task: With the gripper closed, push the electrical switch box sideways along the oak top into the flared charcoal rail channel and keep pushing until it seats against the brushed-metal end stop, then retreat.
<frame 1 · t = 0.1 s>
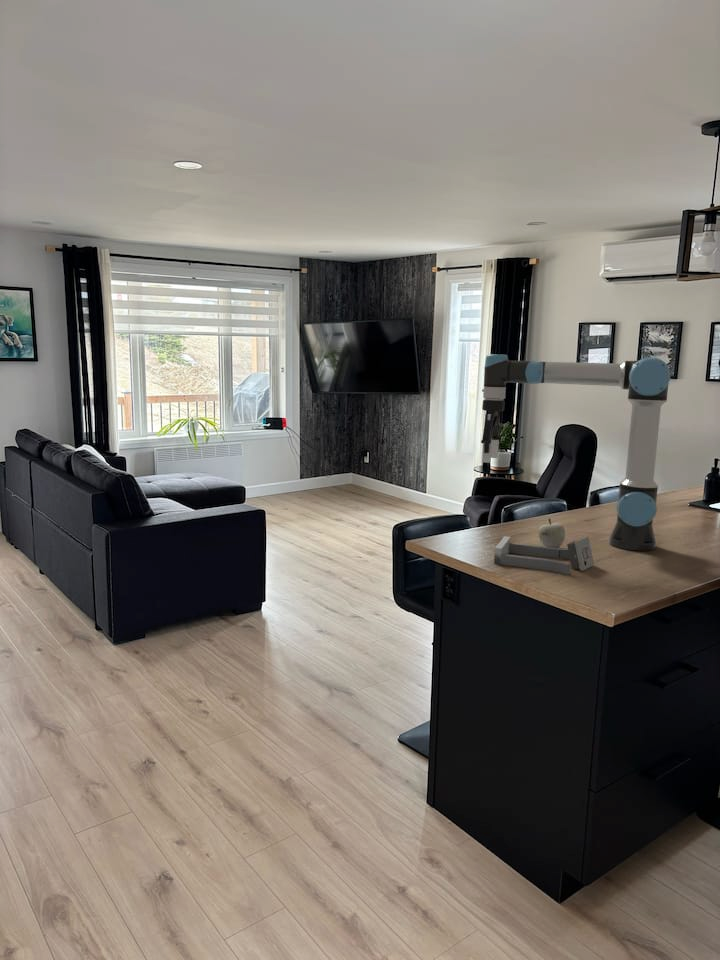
hand: (490, 460, 248), 28 cm above the table, fingers open, 13 cm apart
electrical switch: (579, 567, 219), on the table
decorative object: (550, 548, 241), on the table
rail channel: (527, 560, 224), on the table
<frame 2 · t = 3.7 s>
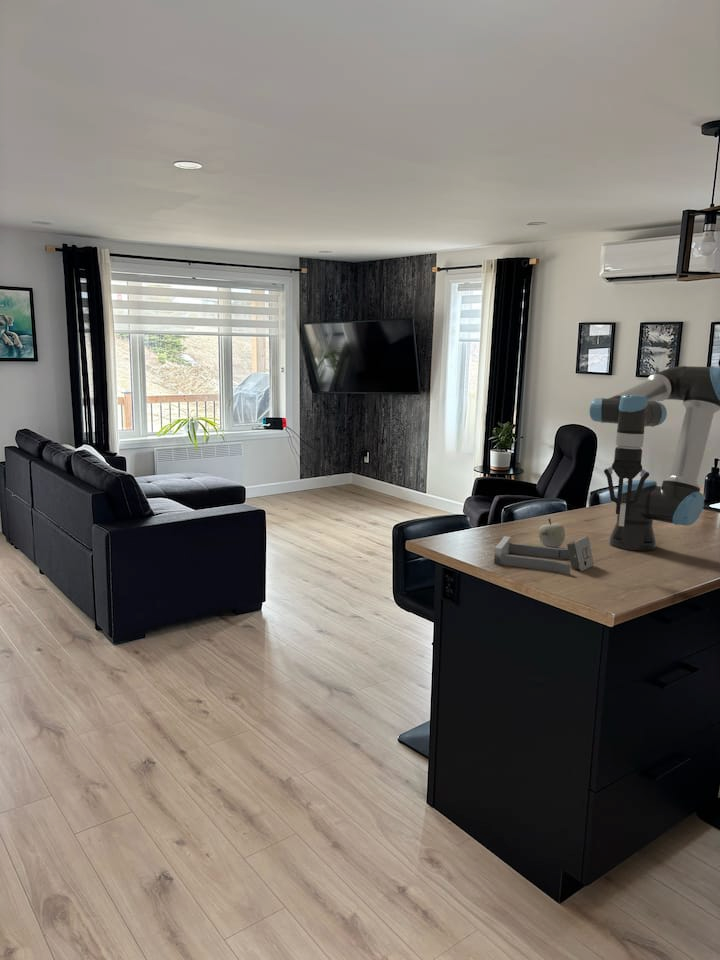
hand: (621, 525, 212), 15 cm above the table, fingers closed
nothing on the table moved.
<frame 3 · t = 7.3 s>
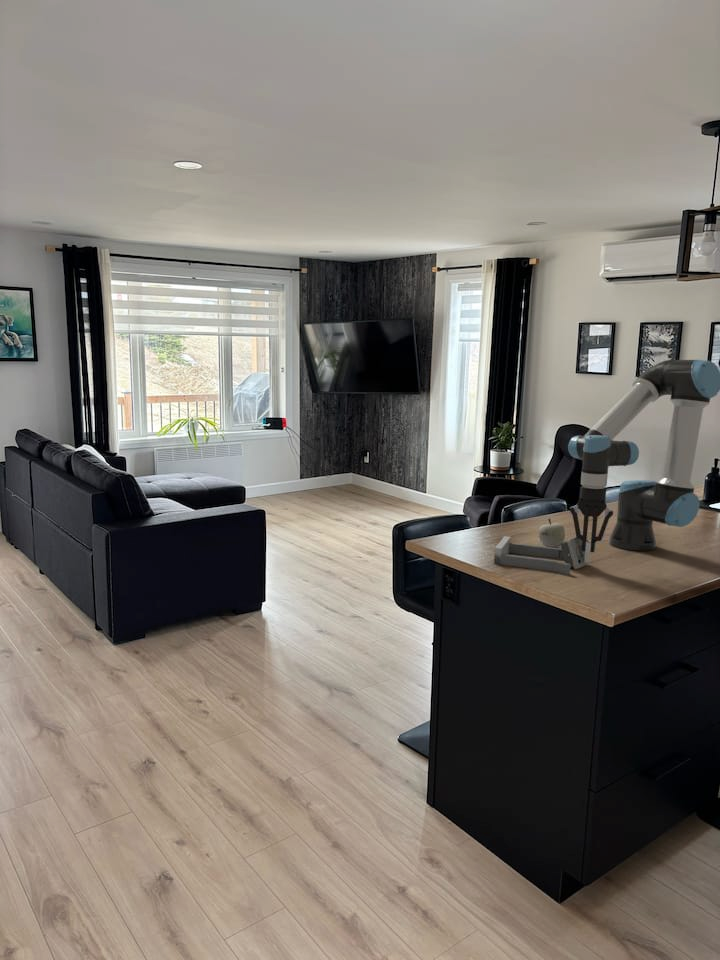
hand: (587, 561, 218), 2 cm above the table, fingers closed
electrical switch: (574, 566, 220), on the table, touching gripper
everything else where it was.
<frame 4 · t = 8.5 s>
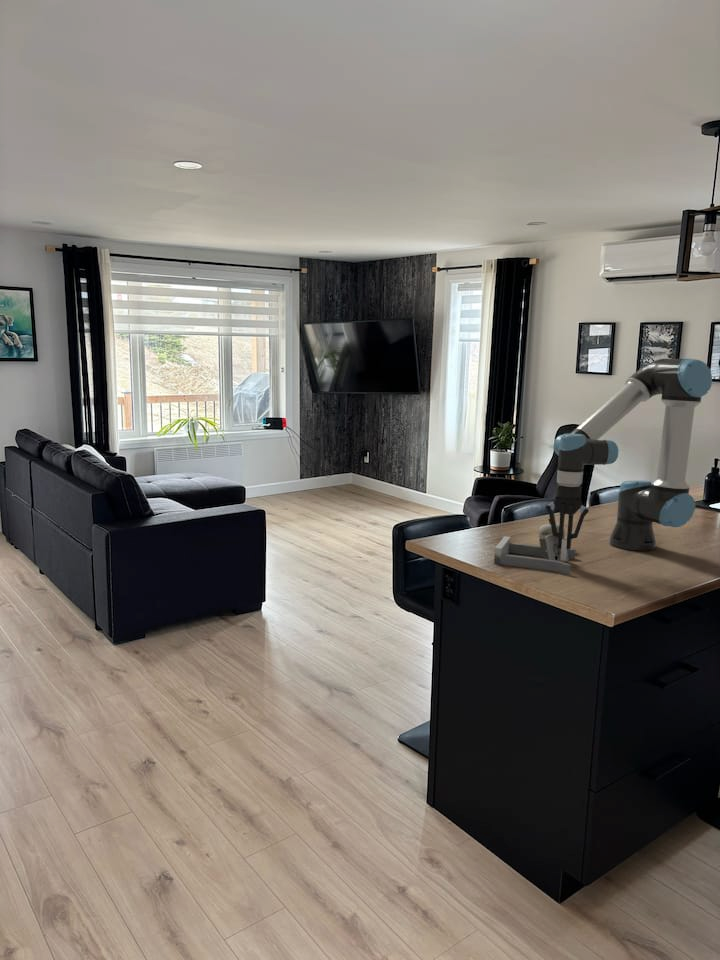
hand: (563, 558, 220), 2 cm above the table, fingers closed
electrical switch: (552, 562, 224), on the table, touching gripper
everything else where it was.
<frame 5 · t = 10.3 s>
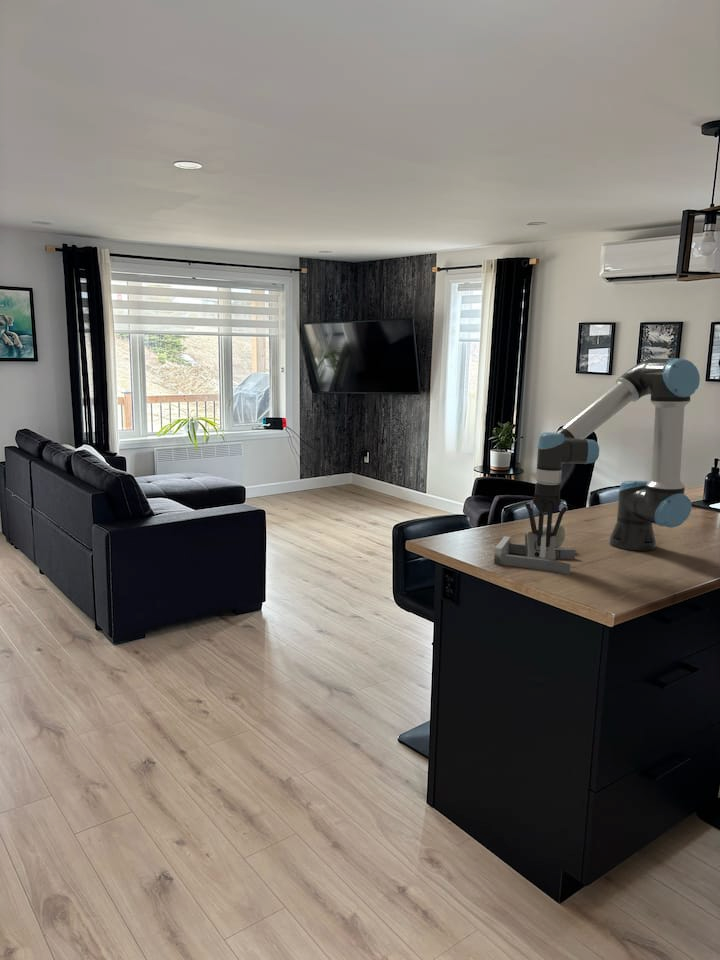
hand: (542, 556, 222), 2 cm above the table, fingers closed
electrical switch: (537, 559, 227), on the table, touching gripper, rail channel
everything else where it was.
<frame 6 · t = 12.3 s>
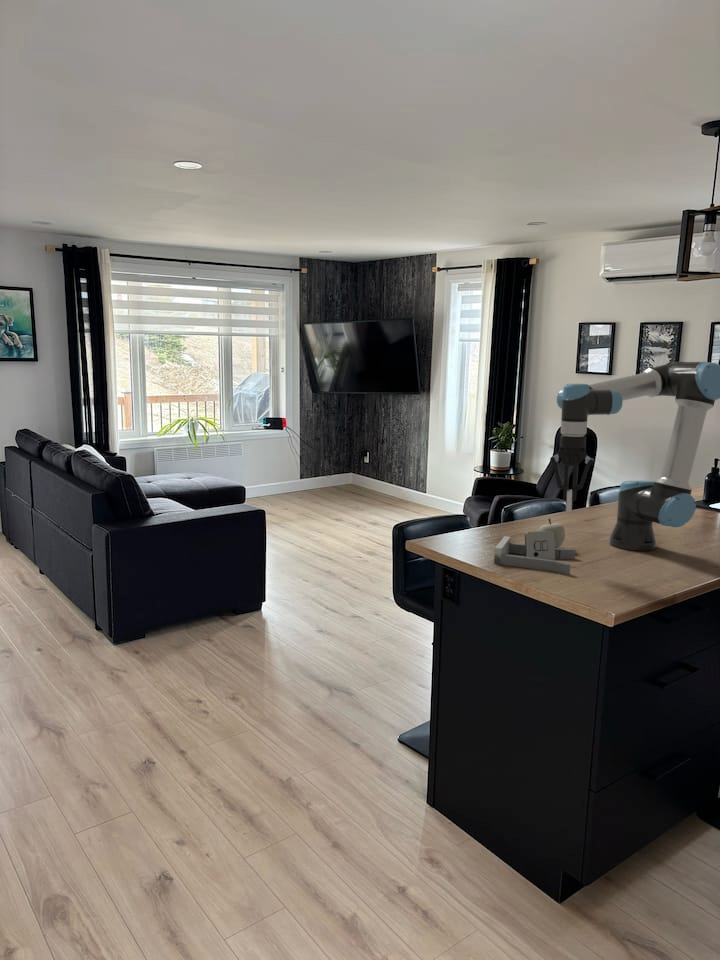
hand: (568, 511, 218), 17 cm above the table, fingers closed
electrical switch: (537, 559, 227), on the table
everything else where it was.
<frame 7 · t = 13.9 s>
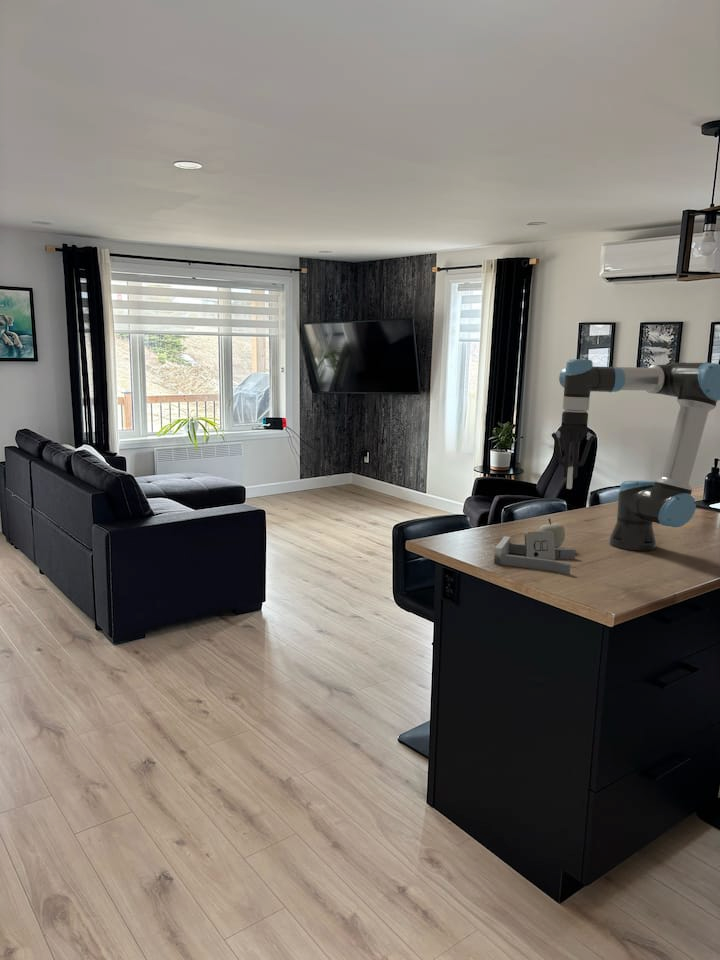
hand: (569, 488, 217), 24 cm above the table, fingers closed
nothing on the table moved.
at the end: electrical switch inside the target area on the rail channel (4.7 cm from its centre), point 0.0 cm above the rail channel's base; electrical switch on the table; electrical switch moved 13.8 cm from its start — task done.
